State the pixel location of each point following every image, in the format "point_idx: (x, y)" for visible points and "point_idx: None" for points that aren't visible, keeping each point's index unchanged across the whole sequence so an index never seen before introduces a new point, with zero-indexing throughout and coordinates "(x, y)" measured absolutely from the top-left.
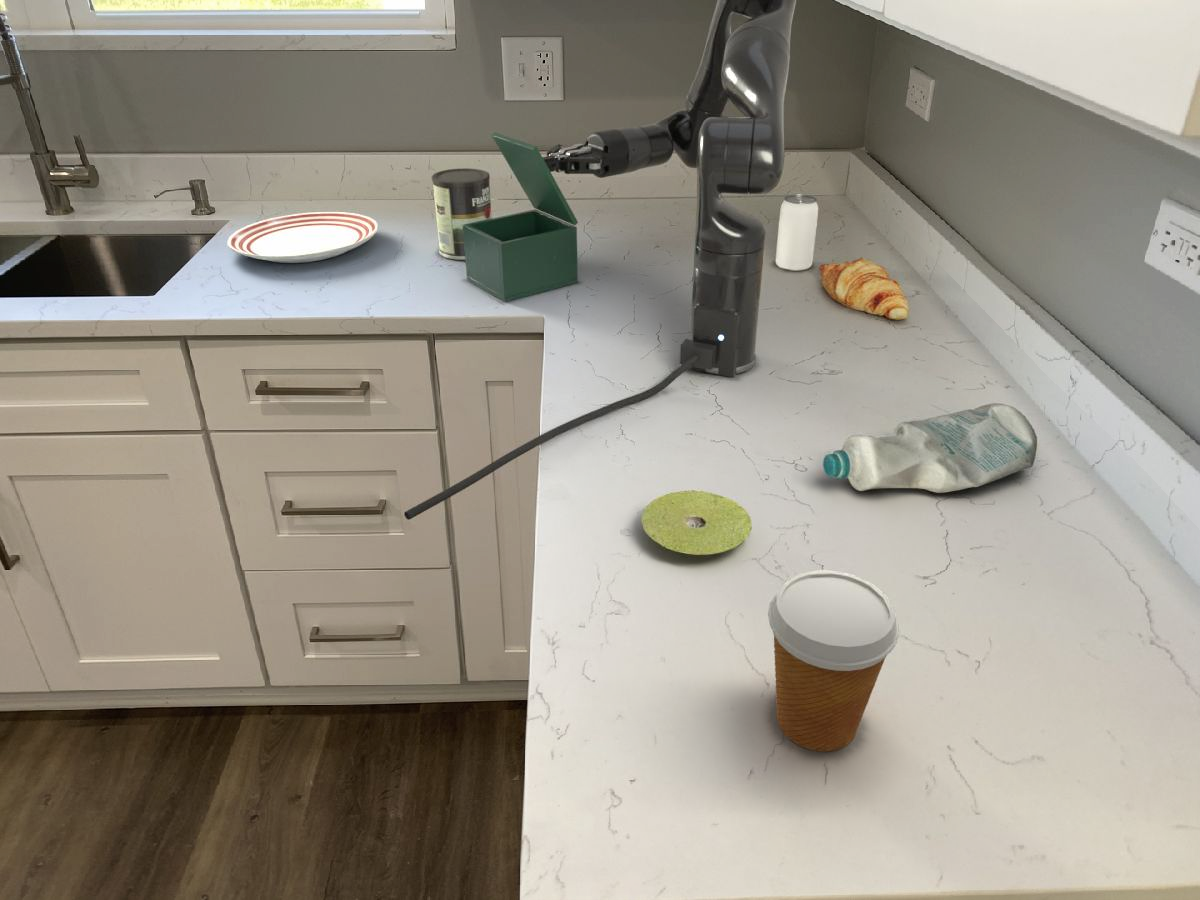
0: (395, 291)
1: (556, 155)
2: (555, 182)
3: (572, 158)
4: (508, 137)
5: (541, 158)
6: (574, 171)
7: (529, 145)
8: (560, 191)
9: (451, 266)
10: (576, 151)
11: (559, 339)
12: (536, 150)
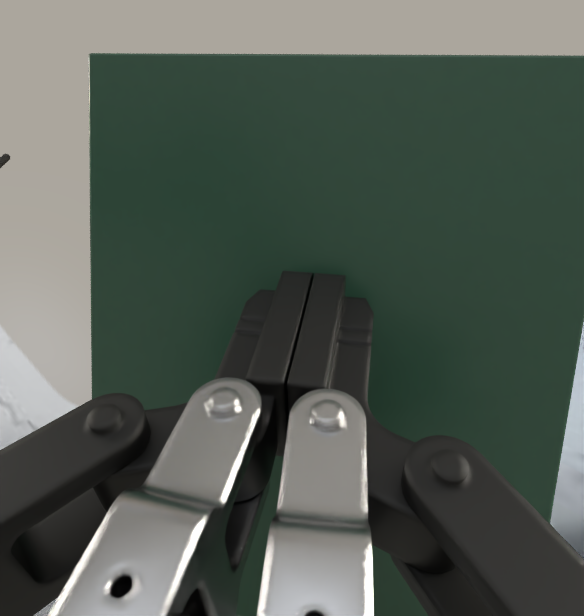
0: None
1: (287, 433)
2: (92, 317)
3: (48, 437)
4: (412, 55)
5: (92, 139)
6: (65, 505)
7: (152, 56)
8: (93, 380)
9: (572, 476)
10: (72, 585)
11: (25, 378)
12: (94, 77)
